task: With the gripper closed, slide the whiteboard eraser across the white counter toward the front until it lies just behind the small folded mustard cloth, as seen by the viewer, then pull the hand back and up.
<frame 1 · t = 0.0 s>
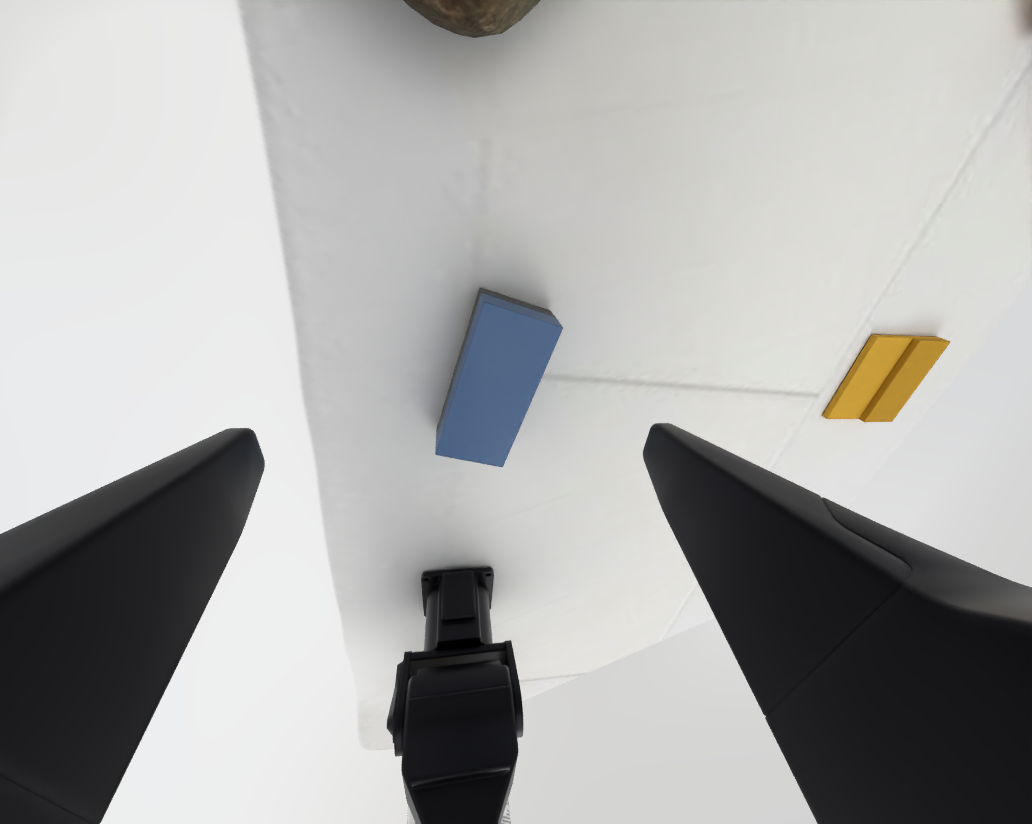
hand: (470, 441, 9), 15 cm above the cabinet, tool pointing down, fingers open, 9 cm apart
whiteboard eraser: (490, 373, 24), on the cabinet
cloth: (876, 378, 29), on the cabinet
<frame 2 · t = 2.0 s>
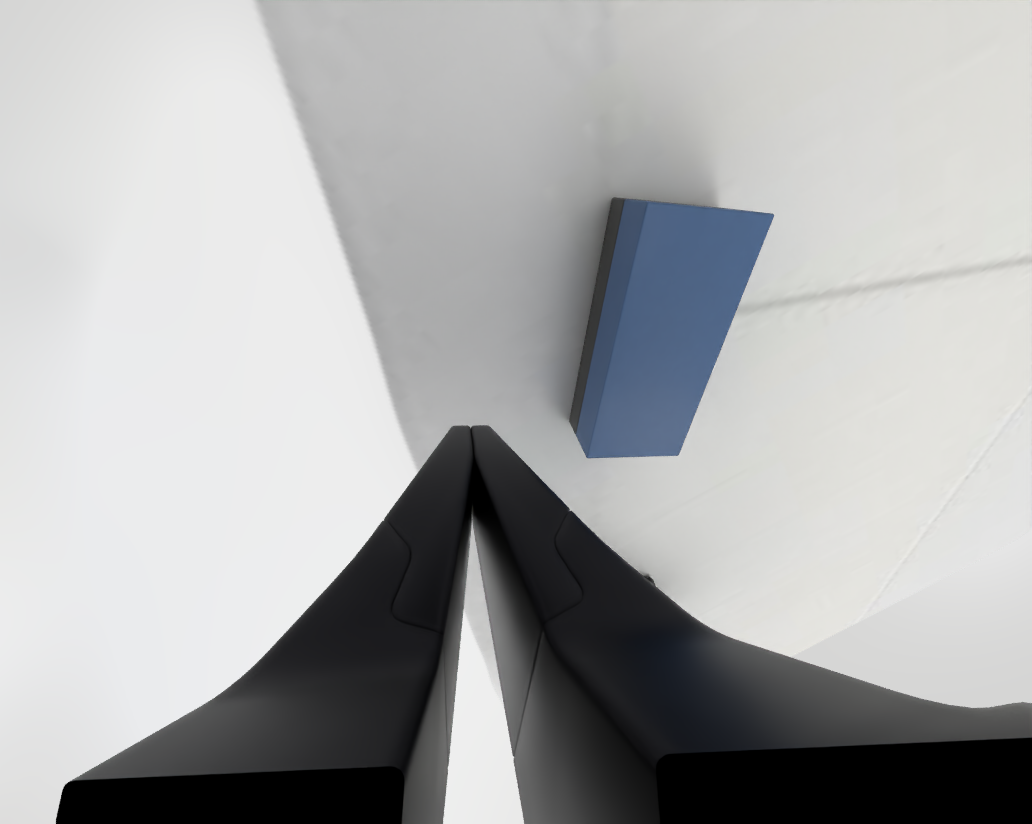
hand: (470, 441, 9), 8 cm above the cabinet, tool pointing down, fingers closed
whiteboard eraser: (634, 328, 17), on the cabinet
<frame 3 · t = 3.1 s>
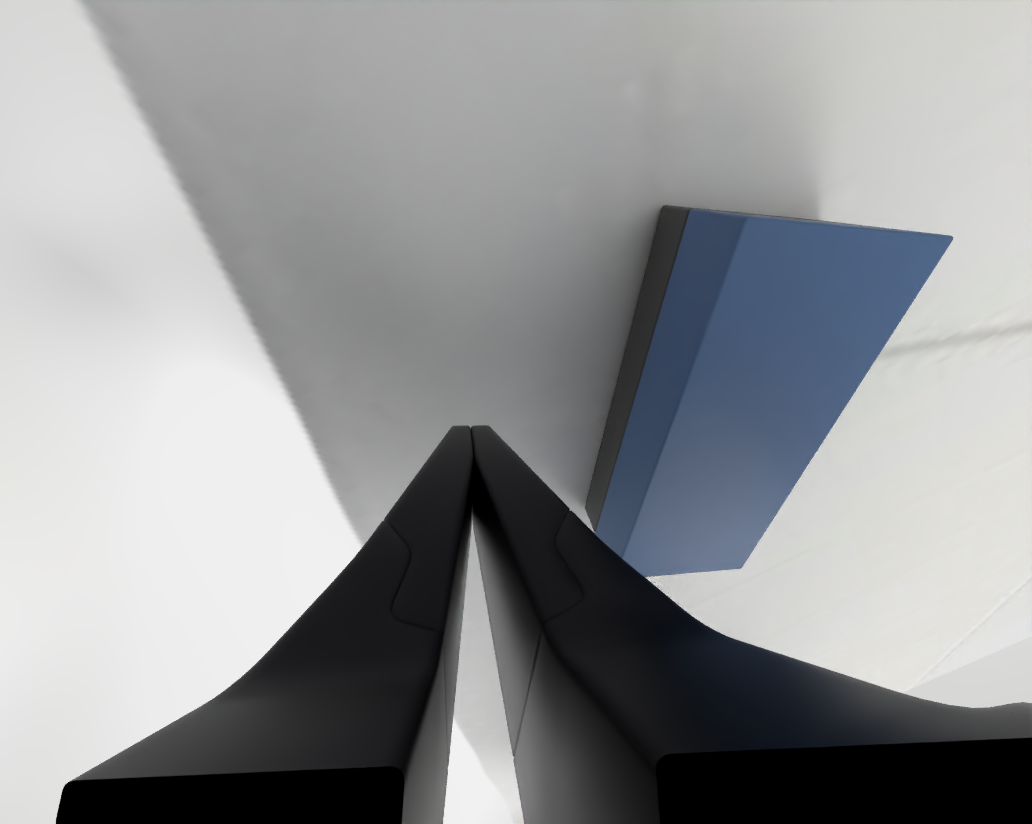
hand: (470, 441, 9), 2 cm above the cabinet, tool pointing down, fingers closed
whiteboard eraser: (680, 391, 12), on the cabinet
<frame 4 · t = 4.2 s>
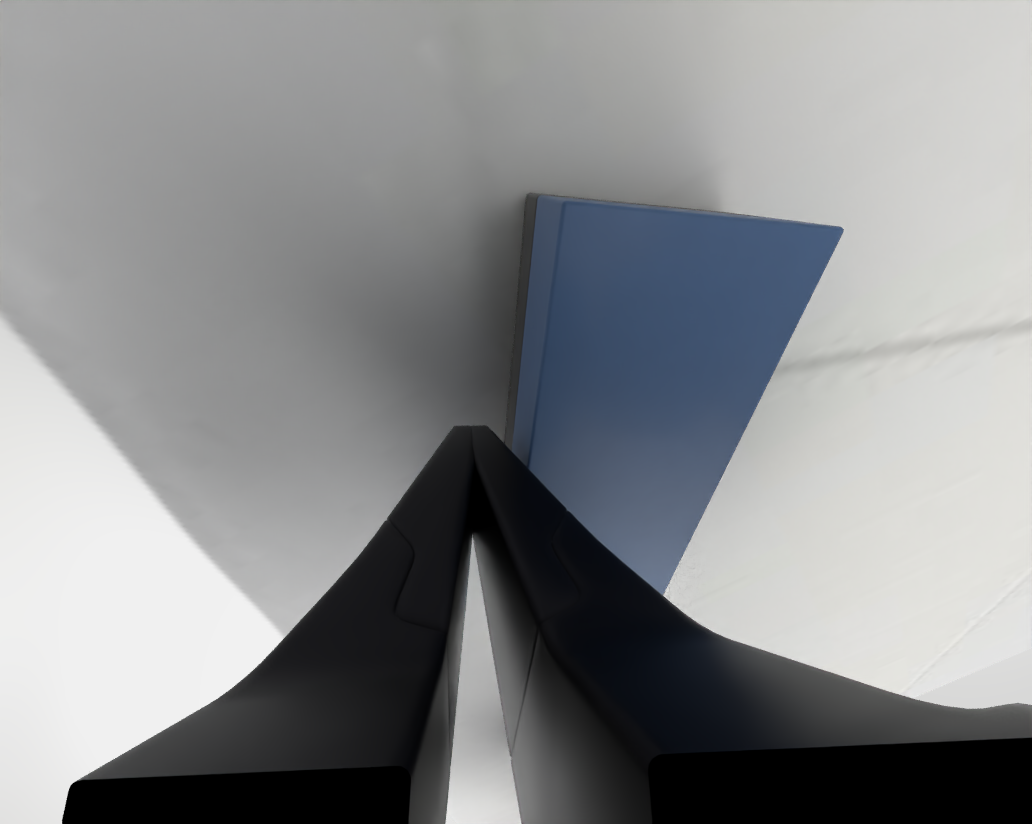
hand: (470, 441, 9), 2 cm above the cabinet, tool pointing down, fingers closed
whiteboard eraser: (586, 406, 10), on the cabinet, touching gripper
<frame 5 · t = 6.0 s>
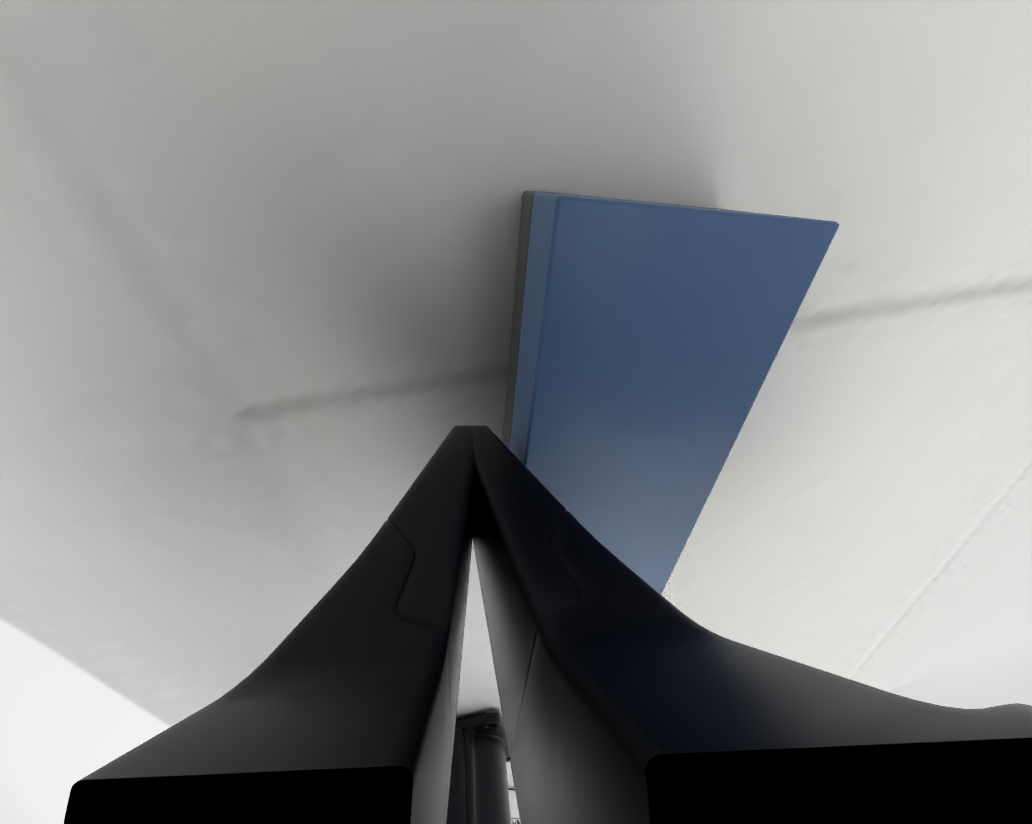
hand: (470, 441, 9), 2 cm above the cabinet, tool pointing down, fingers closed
juice carton: (503, 801, 30), on the cabinet
whiteboard eraser: (584, 404, 10), on the cabinet, touching gripper
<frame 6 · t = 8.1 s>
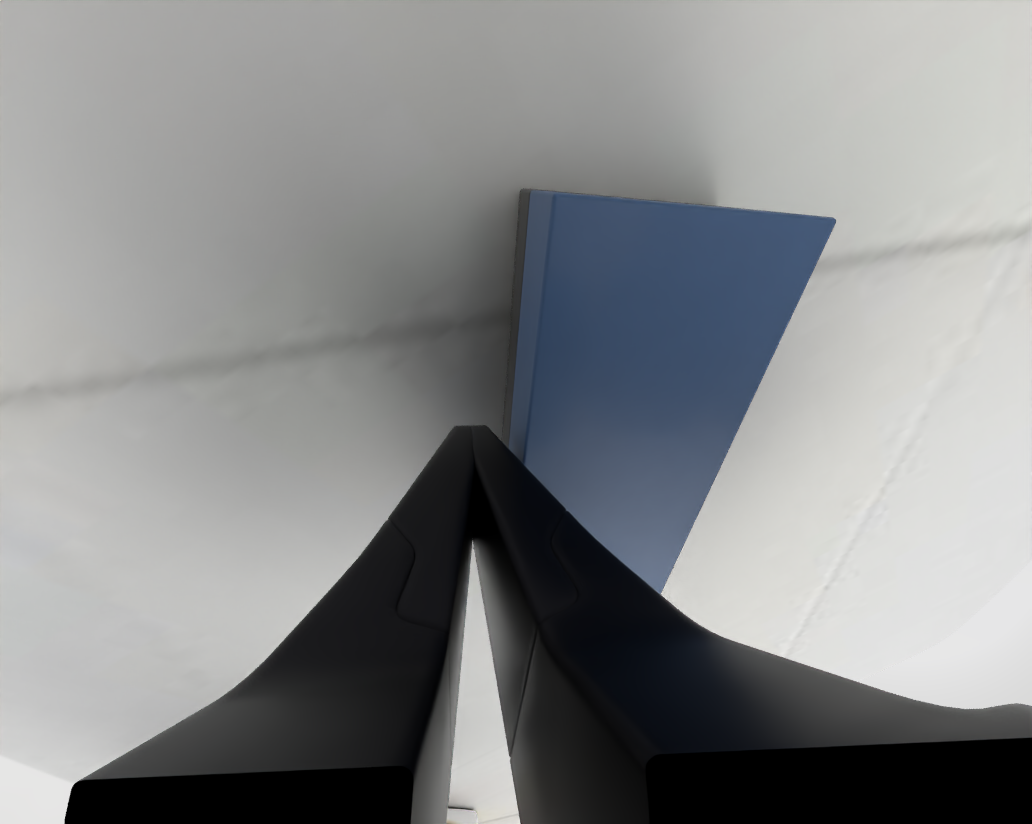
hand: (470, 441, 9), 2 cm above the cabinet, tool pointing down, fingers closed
juice carton: (419, 815, 29), on the cabinet
whiteboard eraser: (583, 402, 10), on the cabinet, touching gripper
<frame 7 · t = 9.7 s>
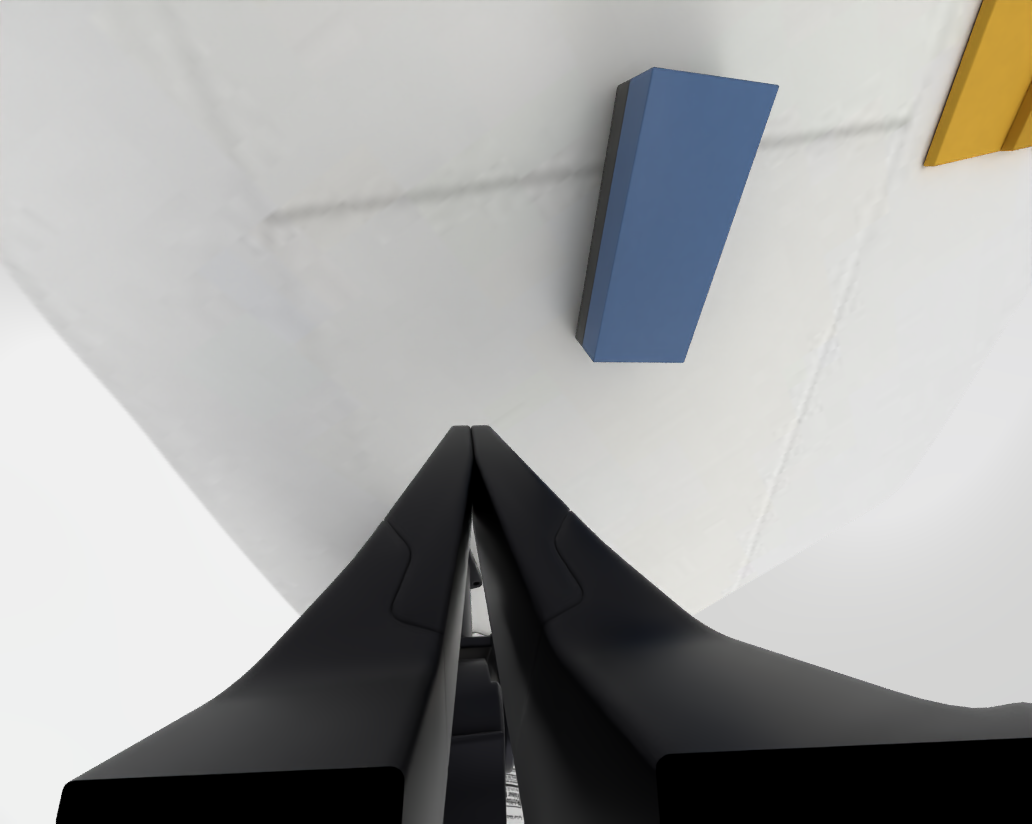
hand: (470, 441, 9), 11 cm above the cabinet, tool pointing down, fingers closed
juice carton: (478, 653, 36), on the cabinet
whiteboard eraser: (639, 234, 17), on the cabinet
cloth: (1028, 50, 15), on the cabinet
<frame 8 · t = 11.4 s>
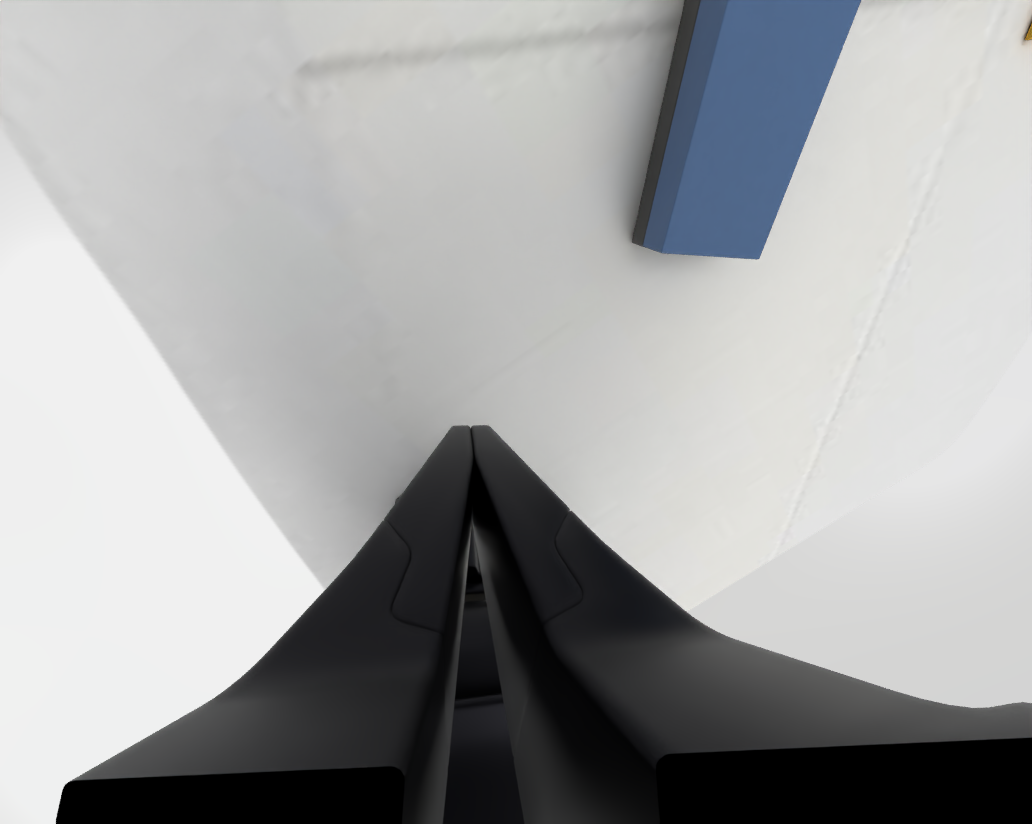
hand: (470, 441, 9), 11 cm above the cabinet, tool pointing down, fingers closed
whiteboard eraser: (711, 113, 15), on the cabinet
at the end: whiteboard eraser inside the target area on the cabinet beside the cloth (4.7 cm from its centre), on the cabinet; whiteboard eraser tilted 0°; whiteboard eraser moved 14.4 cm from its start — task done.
